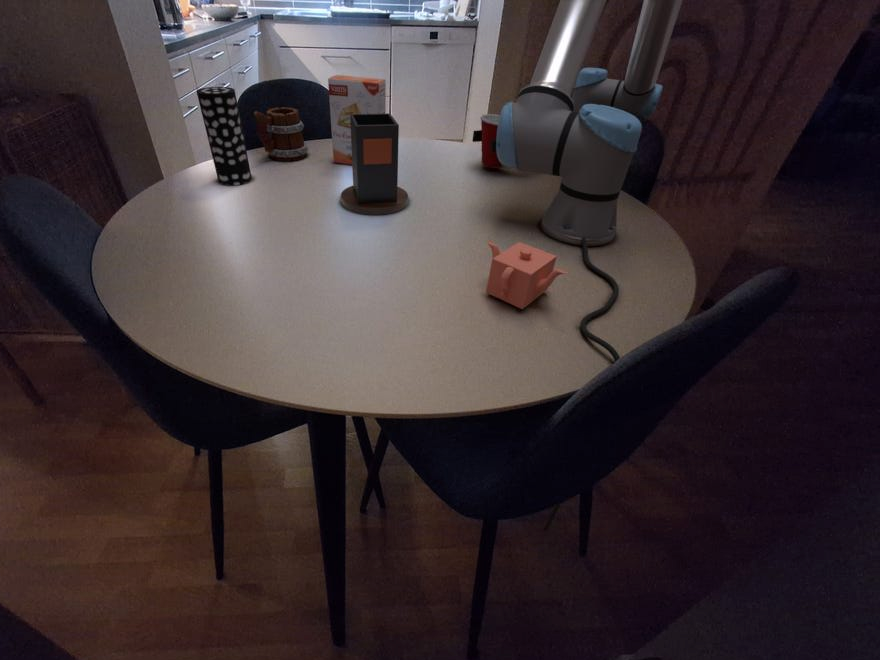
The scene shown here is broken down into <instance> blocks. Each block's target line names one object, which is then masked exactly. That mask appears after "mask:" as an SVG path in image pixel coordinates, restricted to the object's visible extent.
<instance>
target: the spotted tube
mask: <svg viewBox="0 0 880 660" xmlns="http://www.w3.org/2000/svg"><path fill="white" fill-rule="evenodd" d="M195 92H196V97H197V100H198V103H199V107H200V113H201V116H202V120H203V123H204V129H205V132H206V136H207V141H208V144H209V148H210V152H211V157H212V161H213V165H214V168H215V172H216V177H217V181H218V184H221V185H224V186H241V185H245V184H247V183H249V182H251V181H252V179H253V177H252V173H251V166H250V161H249V157H248V151H247V147H246V141H245V136H244V130H243V125H242V121H241V116H240V111H239V105H238V99H237V94H236V89H235V88H233V87H229V86H208V87H201V88H198V89H197V90H196V91H195Z"/></svg>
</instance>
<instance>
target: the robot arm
mask: <svg viewBox="0 0 880 660" xmlns="http://www.w3.org/2000/svg"><path fill="white" fill-rule="evenodd" d="M683 1H684V0H643V2H642V7H641V11H640V14H639V19H638V23H637V27H636V31H635V35H634V39H633V43H632V47H631V52H630V56H629V59H628V65H627V69H626V71H625V72H626V73H625V77H624V80H623V79H622V80H621V79H615V78H608V73H609V72H608V70H607V69H605V68H599V67H584V68H582V67H583V64H584V62H585V59H586V56H587V54H588V51H589V48H590V45H591V43H592V40H593V38H594V35H595V33H596V29H597V27H598V25H599V24H598V23H599V22H600V19H601V16H602V13H603V11H604V8H605V5H606V3H607V0H560V1H559V3H558V6H557V9H556V11H555V14H554V17H553V20H552V21H551V22H552V23H551V25H550V28H549V31H548V34H547V36H546V39H545V42H544V44H543V48H542V50H541V53H540V56H539V57H538V61H537V64H536V67H535V69H534V71H533V75H532V77H531V80H530V84H527V85H526V86H524V87H522V88H521V89H520V90H519V92H518V94H517V97H516V99H515V102H514V101H510V102H506V103H505V104H504V106H503V107H502V109H501V112H500V114H499V115H500V118H499V123H498V129H497V139H496V140H492V145H491V152H495V151H497V157H498V159H499V161H500V163H501V164H502V166H506V167H510V168H514V169H516V170H522V171H528V172H529V171H530V172H534V173H540V174H544V175H549V176H555V177H560V178H562V179H561V182H560V185H559V189H558V192H557V193H556V195H555V196H554V198H553V200H552V201H551V203H550V204H549V206H548V208H547V209H546V210H545V212H544V214H543V216H542V220H541V224H540V227H541V229H542V231H543V232H544V233H545V234H546V235H547V236H549V237H551V238H553V239H555V240H557V241H560V242H563V243H566V244H569V245H574V246H582V252H583V261H584V263H585V265H586V266H587V267H588V268H589V269H590V270H591V271H593V272H594V273H596V274H597V275H599V276H601V277H603V278H604V279H606V280H607V282H609V283H610V284H611V286H612V291H613V292H612V294H611V296H610V298H609V299H608V301H607V302H606V303H605V305H603V306H602V307H600V308H599V309H596V310H594V311H592V312H590V313H588V314H587V315H585V316H584V317H583V318H582V319H581V321H580V331H581V332H582V334H583V336H585V337H586V338H587V339H589V340H591V341H592V342H594V343H596V344H597V345H600V346H601V347H602V348H604V349H605V350H606V351H607V352H608V353H609V354H610V355H611V356H612V358H613V360H614V362H615V361H617V360H618V359H619V358H620V359H621V356H620V354H619V353H618V351H617V350H616V349H615V348H614V346H612V345H611V344H610V343H608V342H607V341H605V340H604V339H602V338H600V337H598V336H597V335H595V334H593V333H592V332H590V331H589V330H588V328H587V324H588V321H590V320H591V319H593V318H595V317H597V316H599V315H601V314H603V313H605V312H606V311H607V310H609V309H610V308H611V307H612V305H613V304H614V303H615V301H616V299H617V297H618V295H619V293H620V292H619V285H618V282H617V281H616V280H615V279H614V278H613V277H612V276H611V275H609V274H608V273H607V272H605V271H604V270H602V269H600V268H598V267H597V266H595V265H594V264H593V263H592V262H591V261H590V258H589V248H588V247H599V246H603V245H606V244H608V243H610V242H612V241H613V239H614V236H615V234H616V232H617V217H618V212H617V211H618V199H619V196H620V194H621V190H622V188H623V185H624V182H625V180H626V178H627V177H626V176H627V174H628V171H629V168H630V165H631V162H632V160H633V157H634V154H635V153H636V152H637V150H638V144H639V140H640V137H641V134H642V129H643V125H642V122H641V120H639V118H638V117H645V118H647V117H651V116H652V115H653V114H654V113H655V111H656V108H657V106H658V103H659V101H660V97H661V95H662V93H663V88H664V87H663V85H662V84H658V83H657V81H658V77H659V74H660V71H661V69H662V65H663V63H664V59H665V56H666V53H667V50H668V47H669V45H670V44H669V43H670V41H671V37H672V35H673V32H674V29H675V25H676V23H677V19H678V16H679V13H680V10H681V7H682V4H683ZM472 133H473V134H472V140H471V141H472V142H473V143H478V142H479V143H480V142H482V130H481V129H479V130H473V132H472ZM562 504H563V502H560V503H559V504H556V503H555V505H554V507H553V508H552V510H551V513H550V515H549V516H548V519H547V520H546V522H545V524H544V527H543V531H544V532H548V531H549V528H550V526H551V525H552V523H553V520H554V518H555V516H556V515H557V513H558V511H559V509H560V507H561V506H562Z"/></svg>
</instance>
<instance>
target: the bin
mask: <svg viewBox="0 0 880 660" xmlns="http://www.w3.org/2000/svg"><path fill="white" fill-rule="evenodd" d="M350 124H351V147H352V165H351V167H352V186H353V188H354V191H355V194H356V197H357V200H358V203H375V202H394V201H397V187H398V183H399V181H398V179H399V178H398V176H399V136H400V125H399V123H398V122H397V120H396V119H395V118H394V116H393V115H392V114H391V113H385V114H350Z"/></svg>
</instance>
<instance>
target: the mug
mask: <svg viewBox="0 0 880 660" xmlns="http://www.w3.org/2000/svg"><path fill="white" fill-rule="evenodd" d="M253 115H254V117H256V120H257V122H256V132H257V135H258V138H259V139H260V142H261V144H262V145H263V149H264V151H265V152H266V153H268V154H269V156H270V158H271V159H272V160H275V161H279V162H291V161H292V162H295V161H299V160H303V159H304V158H306V156H307V153H308V150H309V147H308V145H307V143H306V142H305V141H304V140H305V139H304V135H303V129H304V127H305V124H304V122H303V121H302V120H301V119H300V112H299V110H298V109H297V108H294V107H287V106H286V107H284V106H282V107H273V108H269V109H268V110H267V111H266V115H265V114H264V113H261V112H259V111H257V110H255V111H254V112H253ZM267 132H268V133H267Z"/></svg>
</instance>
